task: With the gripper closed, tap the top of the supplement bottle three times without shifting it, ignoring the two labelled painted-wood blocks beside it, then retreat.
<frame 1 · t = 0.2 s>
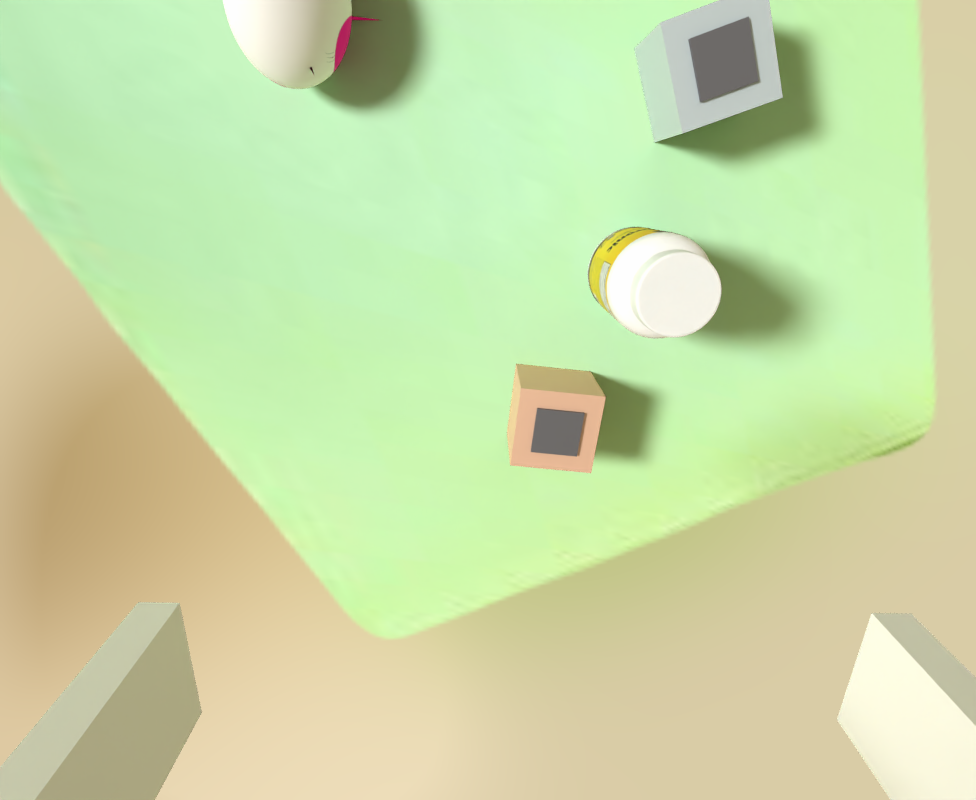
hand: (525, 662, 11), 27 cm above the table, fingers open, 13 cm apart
terracotta block: (547, 402, 38), on the table
supplement bottle: (627, 270, 35), on the table
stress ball: (318, 20, 31), on the table
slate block: (687, 80, 32), on the table
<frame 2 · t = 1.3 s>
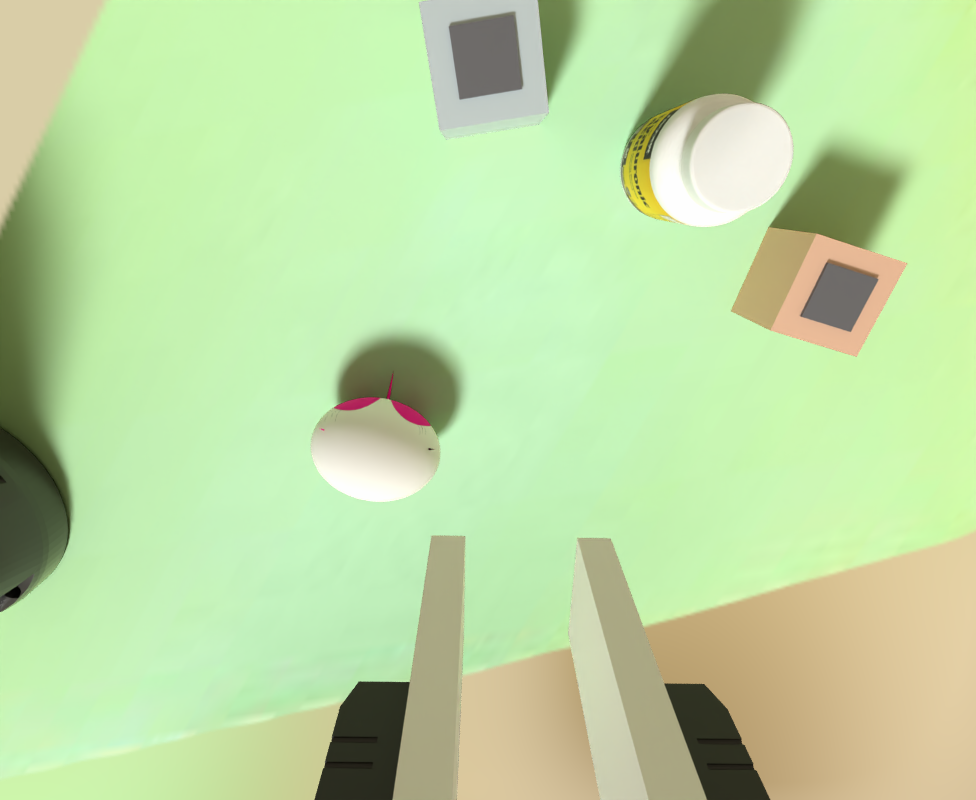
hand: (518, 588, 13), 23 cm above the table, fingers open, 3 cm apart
terracotta block: (787, 282, 33), on the table
supplement bottle: (665, 168, 31), on the table
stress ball: (386, 419, 36), on the table
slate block: (485, 79, 29), on the table
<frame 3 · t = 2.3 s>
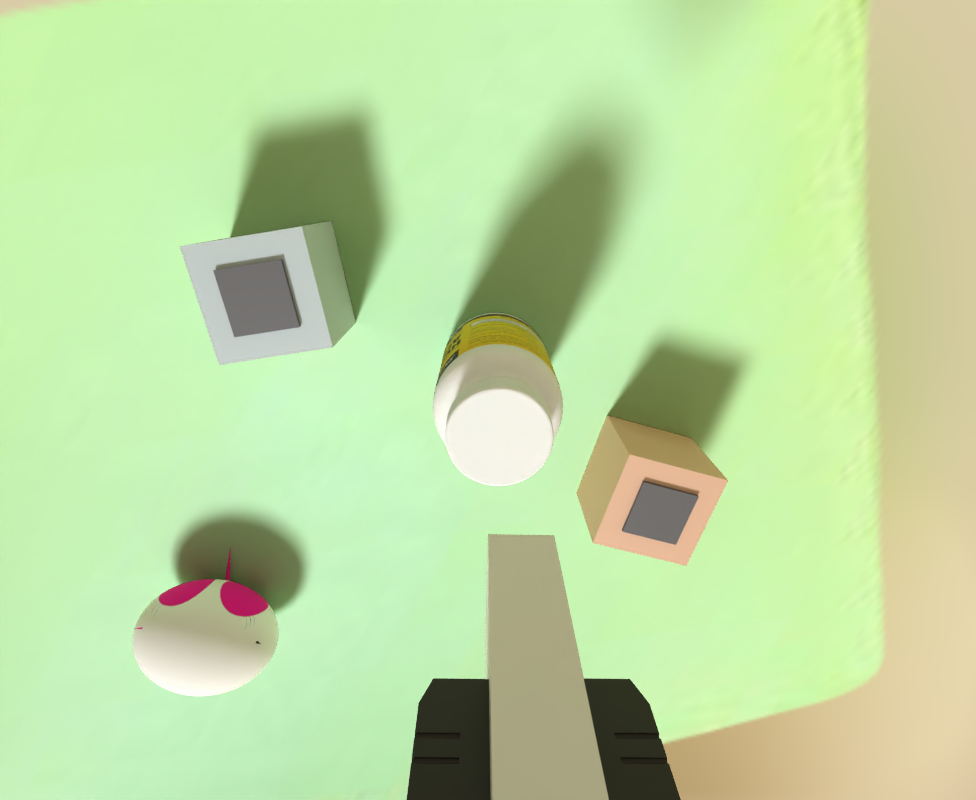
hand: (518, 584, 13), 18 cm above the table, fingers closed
terracotta block: (632, 465, 32), on the table
supplement bottle: (494, 360, 30), on the table
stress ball: (230, 590, 35), on the table
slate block: (295, 280, 28), on the table
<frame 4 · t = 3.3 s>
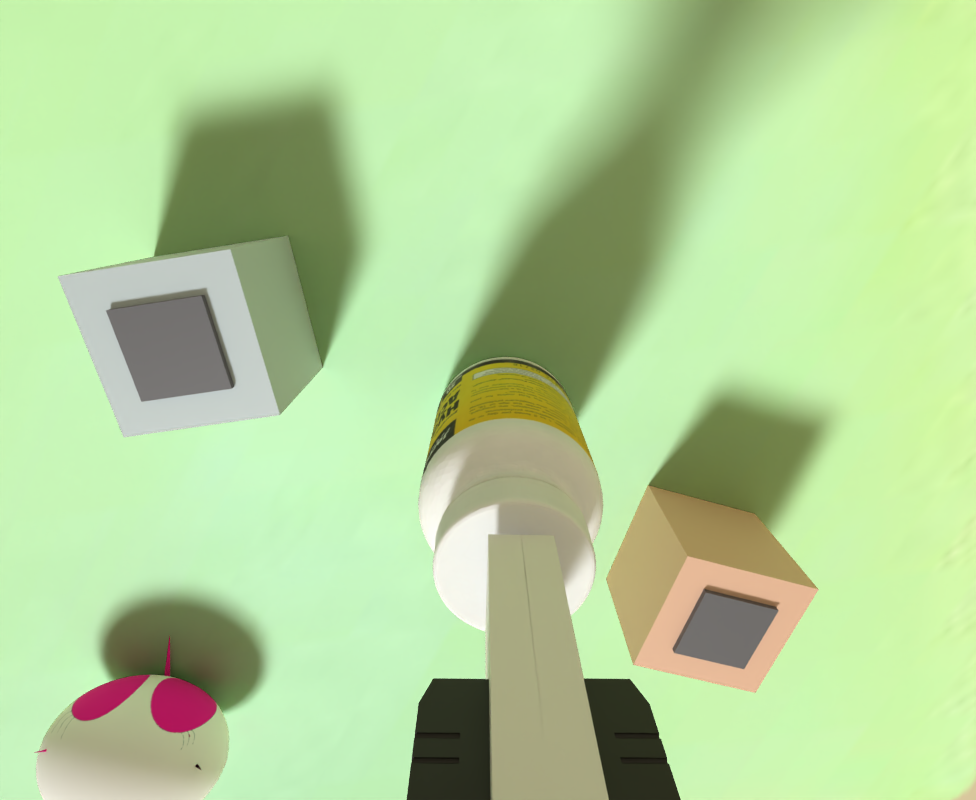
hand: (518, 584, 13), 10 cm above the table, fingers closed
terracotta block: (678, 546, 25), on the table
supplement bottle: (503, 416, 23), on the table
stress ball: (173, 683, 28), on the table
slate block: (242, 313, 21), on the table
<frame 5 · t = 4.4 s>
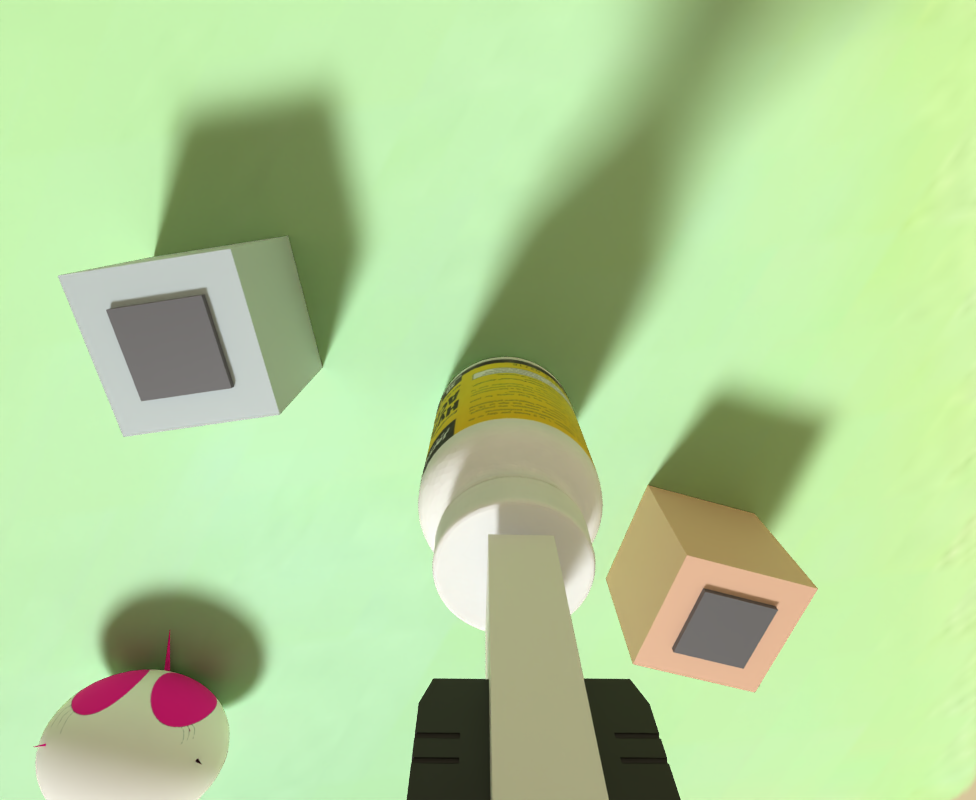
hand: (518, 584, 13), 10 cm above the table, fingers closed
terracotta block: (677, 545, 25), on the table
supplement bottle: (502, 416, 23), on the table
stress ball: (173, 678, 28), on the table
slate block: (241, 313, 21), on the table
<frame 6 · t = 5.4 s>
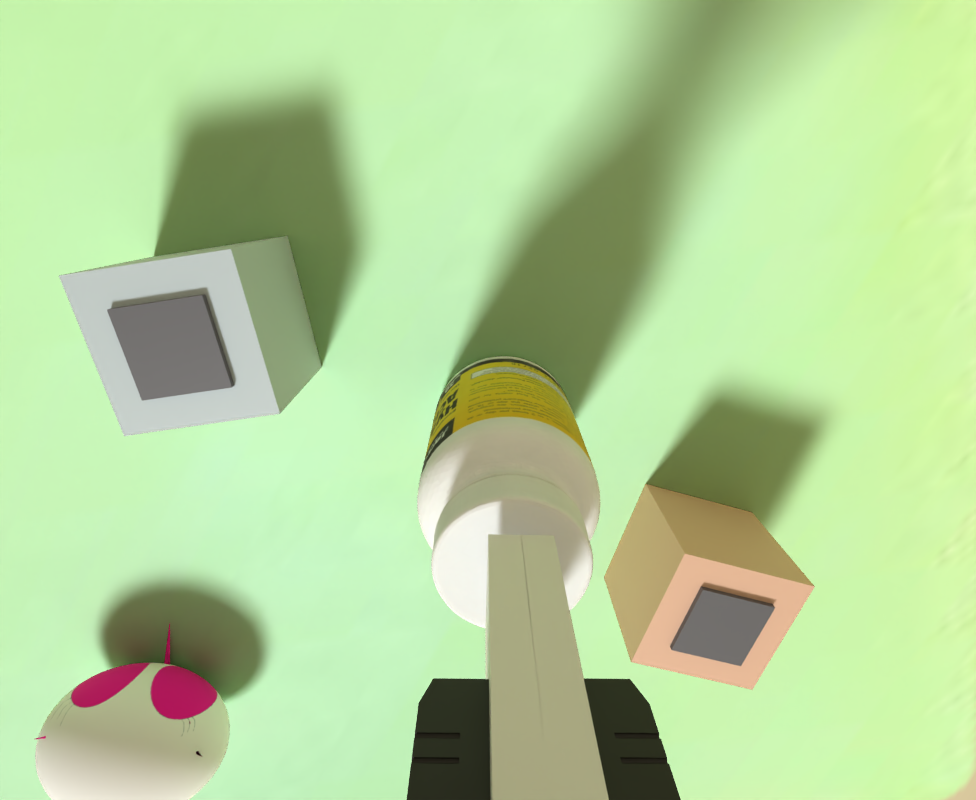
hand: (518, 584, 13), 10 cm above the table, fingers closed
terracotta block: (675, 544, 25), on the table
supplement bottle: (501, 415, 23), on the table
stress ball: (173, 672, 28), on the table
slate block: (241, 313, 21), on the table
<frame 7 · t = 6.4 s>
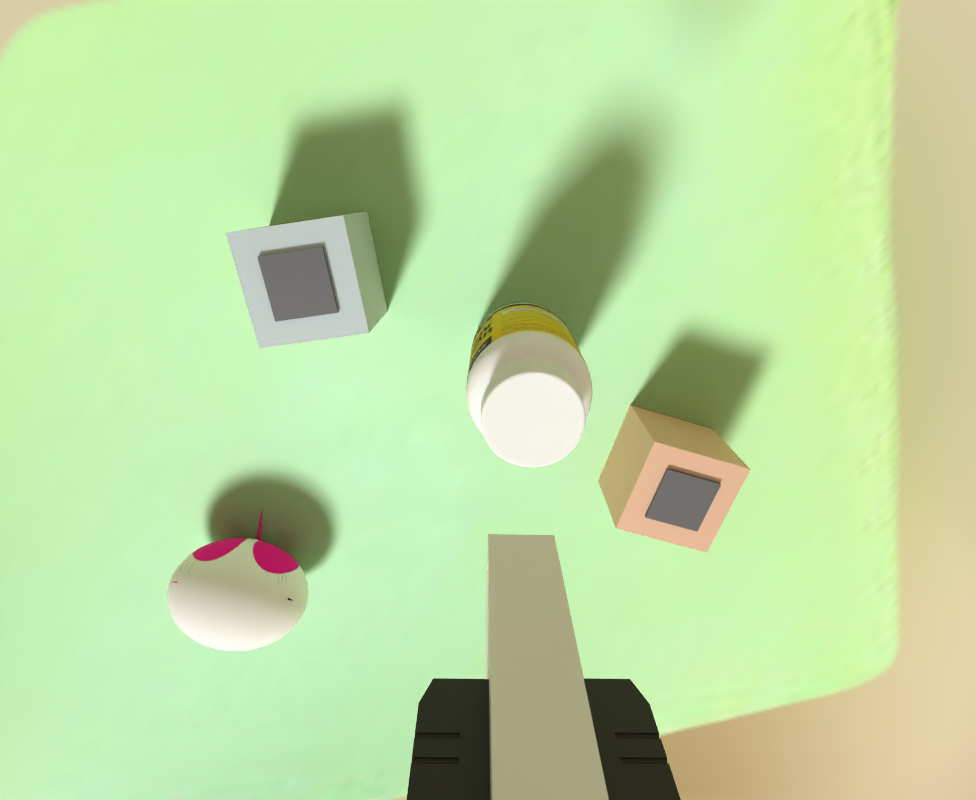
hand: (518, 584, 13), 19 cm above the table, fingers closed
terracotta block: (654, 454, 33), on the table
supplement bottle: (520, 349, 31), on the table
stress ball: (261, 551, 35), on the table
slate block: (330, 269, 29), on the table
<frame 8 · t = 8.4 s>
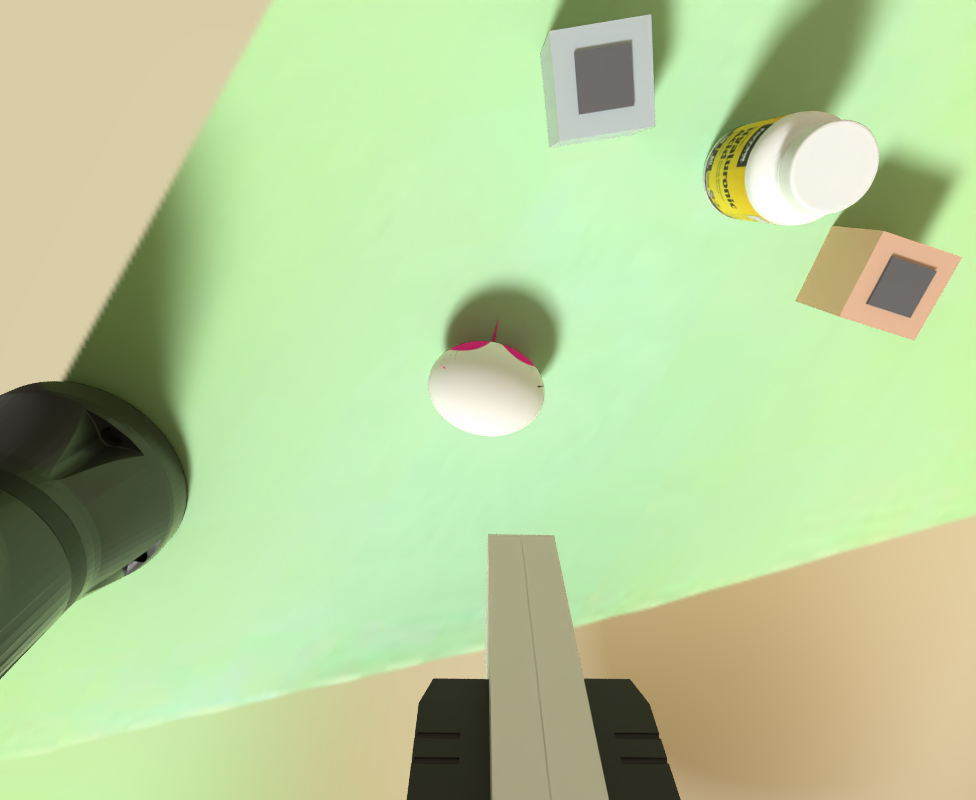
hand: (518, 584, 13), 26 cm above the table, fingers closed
terracotta block: (846, 275, 37), on the table
supplement bottle: (742, 173, 35), on the table
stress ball: (488, 365, 39), on the table
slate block: (586, 95, 33), on the table
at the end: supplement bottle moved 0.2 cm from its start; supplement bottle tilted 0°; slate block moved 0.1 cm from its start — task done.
